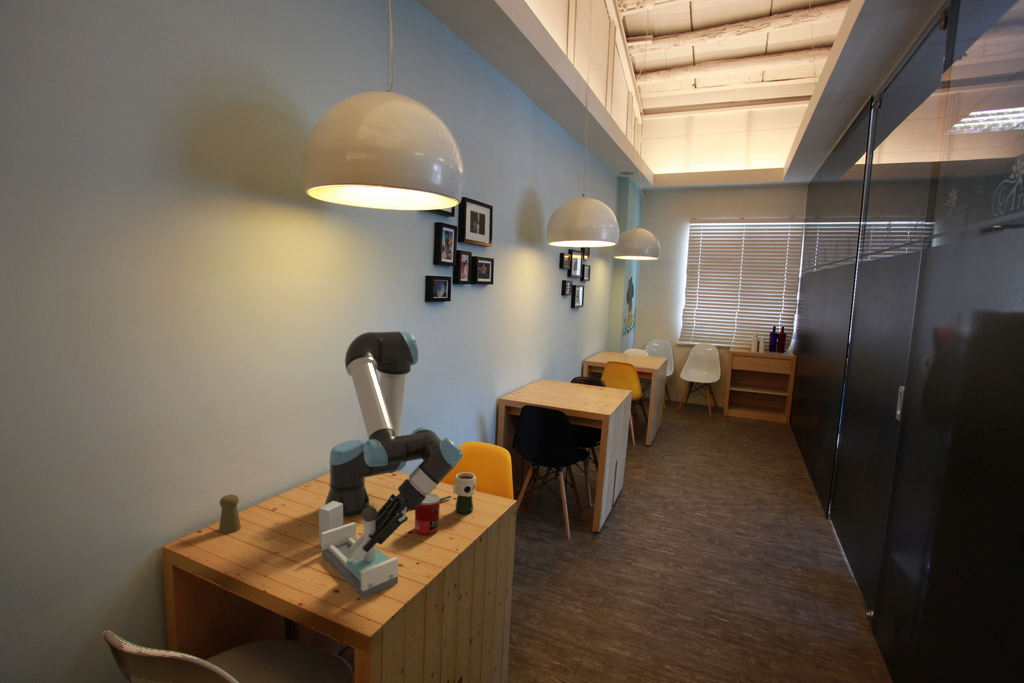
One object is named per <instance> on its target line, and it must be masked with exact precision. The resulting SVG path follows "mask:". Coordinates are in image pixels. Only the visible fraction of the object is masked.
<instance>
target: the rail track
mask: <svg viewBox="0 0 1024 683" xmlns="http://www.w3.org/2000/svg"><path fill="white" fill-rule="evenodd" d="M356 527H357V523H356V522H354V521H353V522H350V523H346V524H343V526H340V527H337V528H334V529H331V530H328V531H325V532H322V546H321V556H322V557H323V558H324V559H325V560H326V561H327V562H328V564H329V565H330V566H331V567H332V568H333V569H334V570H335V571H336V572H337V573H338V575H340V577H342V578H343V579H344V581H346V582H347V584H349V585H350V587H351V588H352V589H353V590H354V591H355V592H356V593H357V594H358V596H360V598H361V599H366V598H367V597H370V596H372V595H374V594H377V593H378V592H381V591H384V590H385V589H388V588H390V587H392V586H395V585H397V584H398V583H399V581H398V580H399V574H398V573H399V558H398V557H397V556H394V557H391V558H389V560H386V561H384V562H381V563H379V564H376V565H374V566H371V567H369V568H366V569H364V570H361V580H359V579H358V578H357V577H356V576H355V575H354V574H353V573H352V572H351V571H350V570H349V569H348V568H347V559H350V558H352V557H351V555H352V554H353V553H354V552H353V551H351V550H350V547H351V546H352V545H353V544H354V543H355V542H356V541H357V540H358V539H357V538H356V536H357V530H356V529H357V528H356Z"/></svg>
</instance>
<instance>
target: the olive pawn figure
mask: <svg viewBox="0 0 1024 683" xmlns="http://www.w3.org/2000/svg"><path fill="white" fill-rule="evenodd" d="M239 501H240V500H239V497H238V495H235V494H227V495H224V496H222V497H221V498H220V500H219V507H220V508H221V513H220V520H219V528H218V532H219V534H222V535H229V534H233V533H237V532H238V531H239V530H241V526H242V525H241V521H240V517H239V516H240V515H239V510H238V504H239Z"/></svg>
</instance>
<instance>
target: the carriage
mask: <svg viewBox="0 0 1024 683" xmlns="http://www.w3.org/2000/svg"><path fill="white" fill-rule="evenodd" d="M377 512H378V511H377V509H376V508H375V507H374V506H370V505H369V507H366V508H365V509H364V510H363V512H362V513H361V518H362V520H363V533H364V541H365V540H366V539H367V538H368V536H369V534H370V535H372V534H373V533H374V532H375V519H376V517H377ZM389 559H390V558H389V557H388V556H387V555H386V554H384V553H383V552H382V551H381V550H380V549H379V548H376V544H375V545H374V546H373V547H372V549H371V550H370V551H369V552H368V553H367V554H366V555H365V556H364V557H363V558H362V559H361V560H360V562H358V561H357V560H355V559H354V558H350V559H347V568H348V569H349V570H350V571H351V572H352V573H353V574H354V575H355V576H356V577H357V578H358V579H359V580H361V570H364V569H366V568H369V567H371V566H374V565H376V564H379V563H381V562H384V561H386V560H389Z"/></svg>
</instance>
